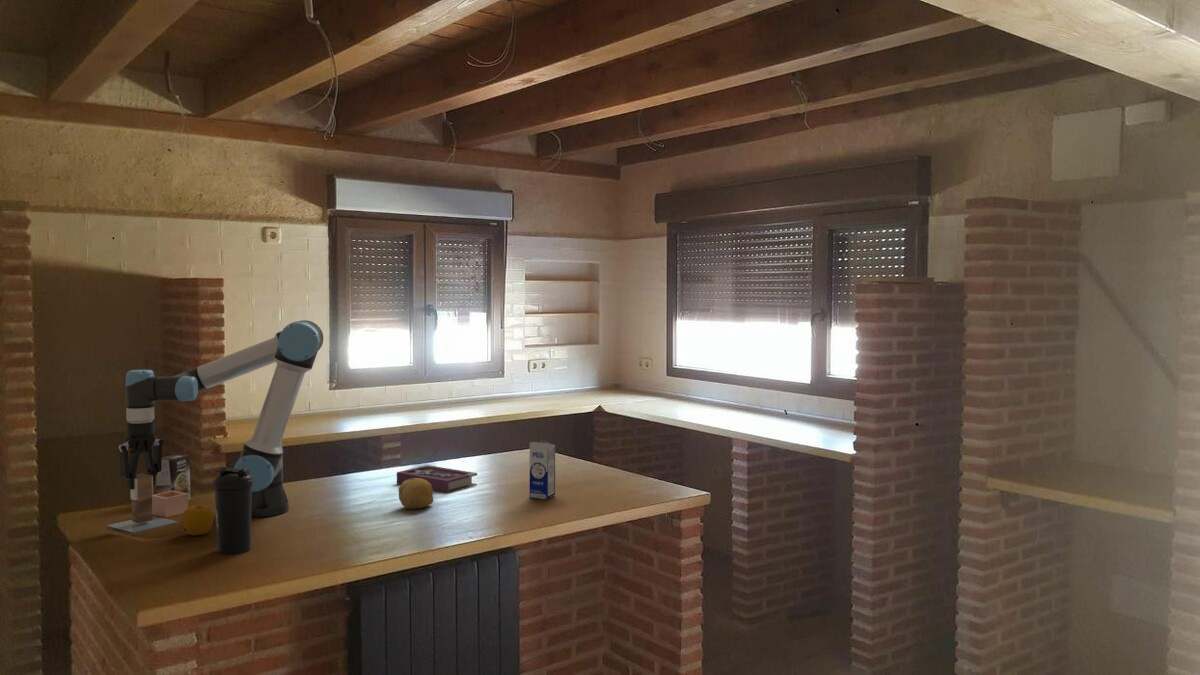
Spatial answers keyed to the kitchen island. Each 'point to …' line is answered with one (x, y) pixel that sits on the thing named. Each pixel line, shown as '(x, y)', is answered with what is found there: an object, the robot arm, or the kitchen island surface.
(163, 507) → the box with hole
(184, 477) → the coffee box
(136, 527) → the tile
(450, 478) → the book
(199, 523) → the apple
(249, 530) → the water bottle
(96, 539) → the kitchen island surface
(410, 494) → the potato
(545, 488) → the milk carton
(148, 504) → the peg
